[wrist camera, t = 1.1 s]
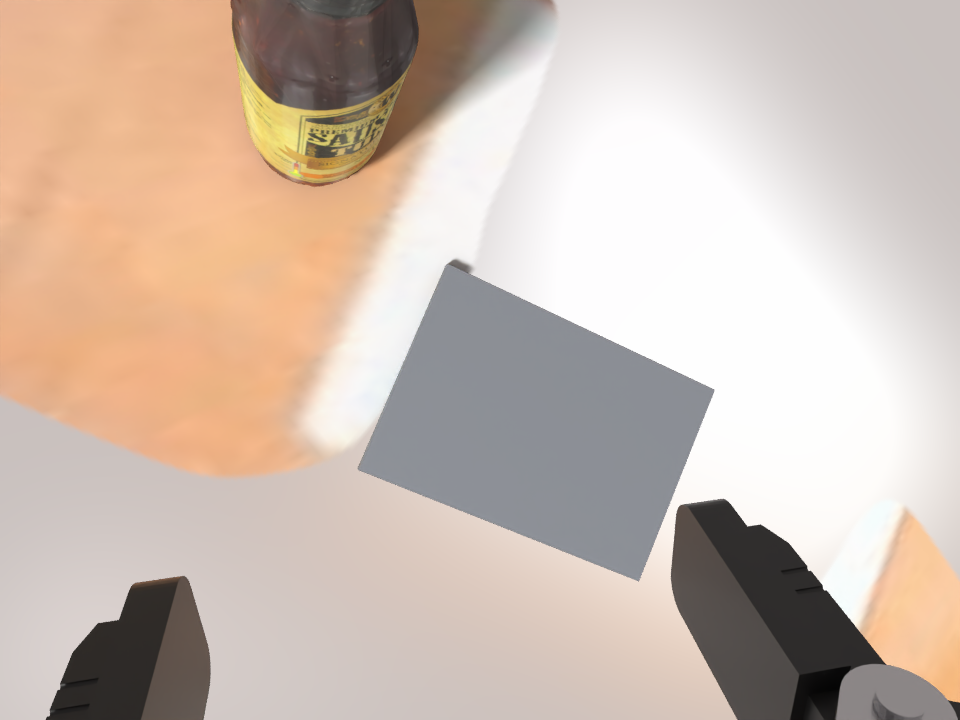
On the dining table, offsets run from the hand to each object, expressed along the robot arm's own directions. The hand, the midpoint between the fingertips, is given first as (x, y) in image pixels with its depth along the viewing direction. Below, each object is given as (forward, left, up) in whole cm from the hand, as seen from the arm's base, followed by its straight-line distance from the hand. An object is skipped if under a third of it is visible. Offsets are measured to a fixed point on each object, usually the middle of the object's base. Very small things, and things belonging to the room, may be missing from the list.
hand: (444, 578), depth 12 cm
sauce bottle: (+2, +15, -25) cm, 30 cm away
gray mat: (+10, -2, -25) cm, 27 cm away
